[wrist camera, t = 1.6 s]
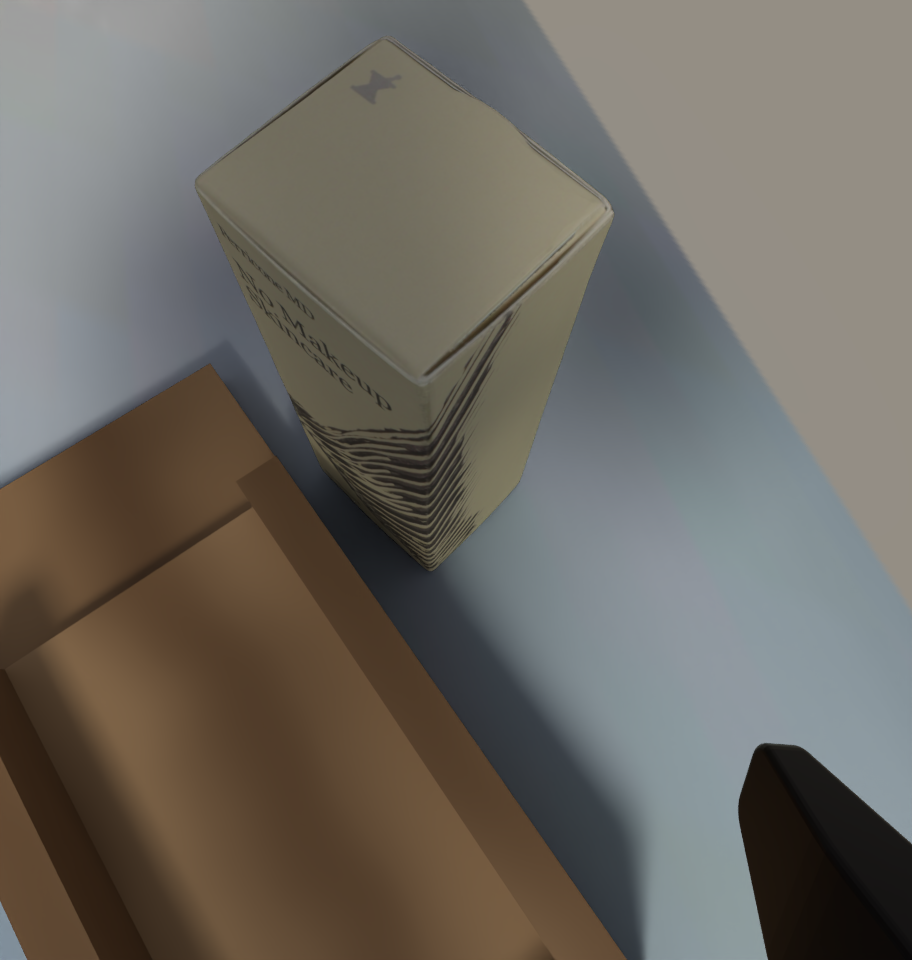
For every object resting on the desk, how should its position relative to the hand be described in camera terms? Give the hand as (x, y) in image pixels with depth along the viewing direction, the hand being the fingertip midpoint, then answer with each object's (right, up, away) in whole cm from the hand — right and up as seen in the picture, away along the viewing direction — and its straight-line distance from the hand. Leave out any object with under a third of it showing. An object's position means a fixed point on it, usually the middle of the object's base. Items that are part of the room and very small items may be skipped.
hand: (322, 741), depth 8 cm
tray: (-4, -5, +12) cm, 14 cm away
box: (0, +3, +15) cm, 16 cm away
